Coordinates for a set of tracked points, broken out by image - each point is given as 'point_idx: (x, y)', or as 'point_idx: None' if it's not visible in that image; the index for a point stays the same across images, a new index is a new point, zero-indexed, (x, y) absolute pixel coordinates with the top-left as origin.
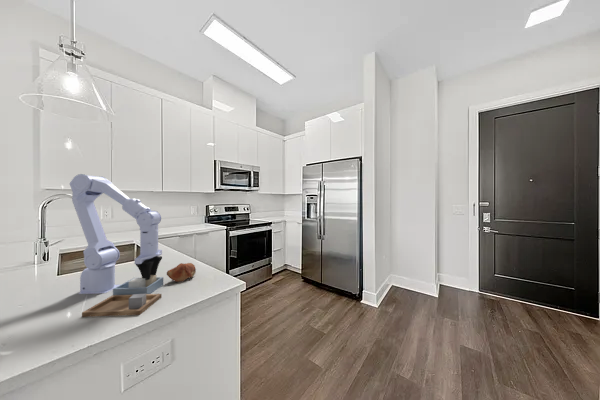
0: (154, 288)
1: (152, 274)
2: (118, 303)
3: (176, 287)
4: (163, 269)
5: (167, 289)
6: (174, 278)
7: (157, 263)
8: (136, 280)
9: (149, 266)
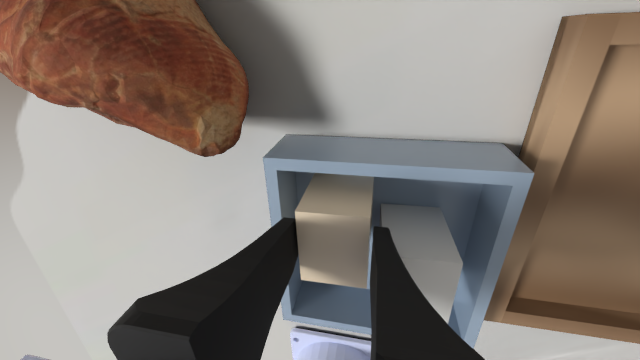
0: (402, 148)
1: (293, 241)
2: (575, 256)
3: (316, 12)
4: (60, 243)
5: (353, 70)
6: (236, 70)
7: (240, 285)
8: (429, 294)
9: (454, 331)
